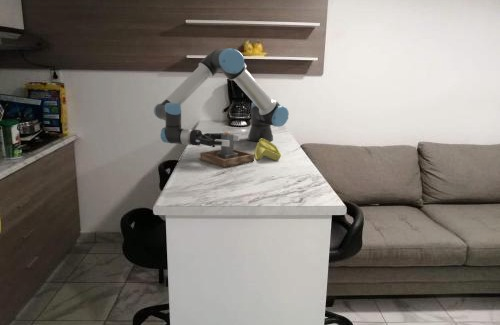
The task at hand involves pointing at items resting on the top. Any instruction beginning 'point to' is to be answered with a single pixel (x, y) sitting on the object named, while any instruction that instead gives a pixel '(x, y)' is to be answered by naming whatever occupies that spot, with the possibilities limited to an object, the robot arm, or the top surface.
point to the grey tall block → (229, 137)
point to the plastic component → (266, 150)
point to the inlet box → (227, 158)
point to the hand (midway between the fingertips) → (234, 140)
